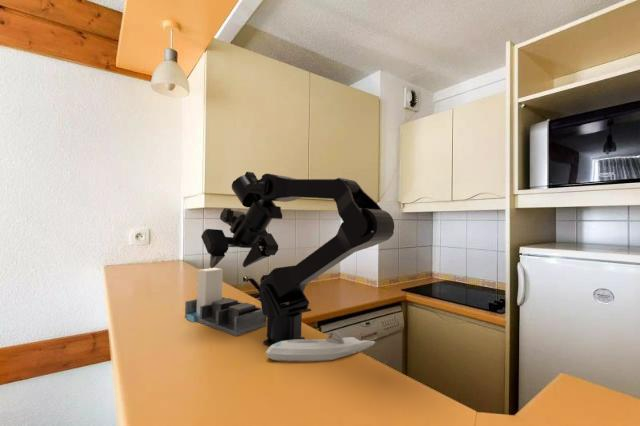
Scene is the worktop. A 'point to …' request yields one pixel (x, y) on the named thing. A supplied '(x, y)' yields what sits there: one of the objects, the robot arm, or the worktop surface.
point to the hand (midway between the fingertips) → (228, 266)
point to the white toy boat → (317, 348)
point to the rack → (227, 315)
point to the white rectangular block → (209, 286)
